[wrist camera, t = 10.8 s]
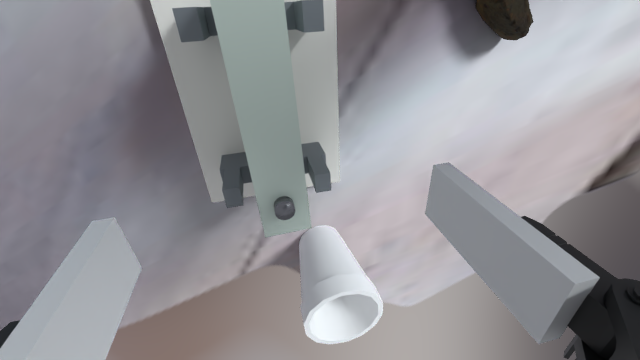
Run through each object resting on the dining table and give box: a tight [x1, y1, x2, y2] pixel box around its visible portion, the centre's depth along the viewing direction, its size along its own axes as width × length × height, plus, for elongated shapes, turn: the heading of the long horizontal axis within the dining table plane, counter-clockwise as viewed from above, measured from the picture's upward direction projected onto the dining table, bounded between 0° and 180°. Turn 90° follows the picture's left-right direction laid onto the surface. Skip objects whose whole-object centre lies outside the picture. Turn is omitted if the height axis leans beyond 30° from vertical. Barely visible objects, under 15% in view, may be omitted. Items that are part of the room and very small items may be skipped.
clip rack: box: [150, 0, 340, 208], centre depth 27 cm, size 16×24×9 cm, turn 3°
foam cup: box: [299, 225, 383, 344], centre depth 38 cm, size 10×9×13 cm
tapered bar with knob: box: [210, 0, 311, 238], centre depth 23 cm, size 4×18×9 cm, turn 5°
